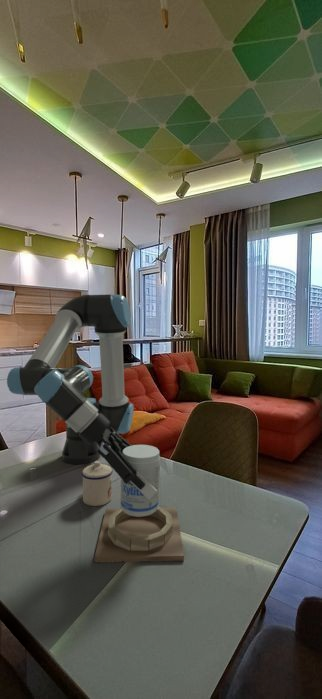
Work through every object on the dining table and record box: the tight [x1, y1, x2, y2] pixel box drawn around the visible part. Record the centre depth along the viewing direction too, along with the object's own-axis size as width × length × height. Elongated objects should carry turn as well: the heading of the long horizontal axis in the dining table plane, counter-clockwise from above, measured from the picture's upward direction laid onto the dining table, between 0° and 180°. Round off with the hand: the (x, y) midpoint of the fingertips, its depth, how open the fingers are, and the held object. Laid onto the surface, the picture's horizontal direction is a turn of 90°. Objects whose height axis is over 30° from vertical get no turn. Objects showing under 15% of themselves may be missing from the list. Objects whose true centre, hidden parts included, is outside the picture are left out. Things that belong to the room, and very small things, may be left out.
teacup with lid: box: [81, 460, 113, 507], centre depth 103 cm, size 12×9×12 cm
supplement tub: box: [120, 444, 161, 517], centre depth 83 cm, size 10×10×15 cm
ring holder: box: [94, 505, 185, 563], centre depth 85 cm, size 20×20×4 cm
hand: (152, 484), depth 84 cm, fingers closed on supplement tub, 9 cm apart
